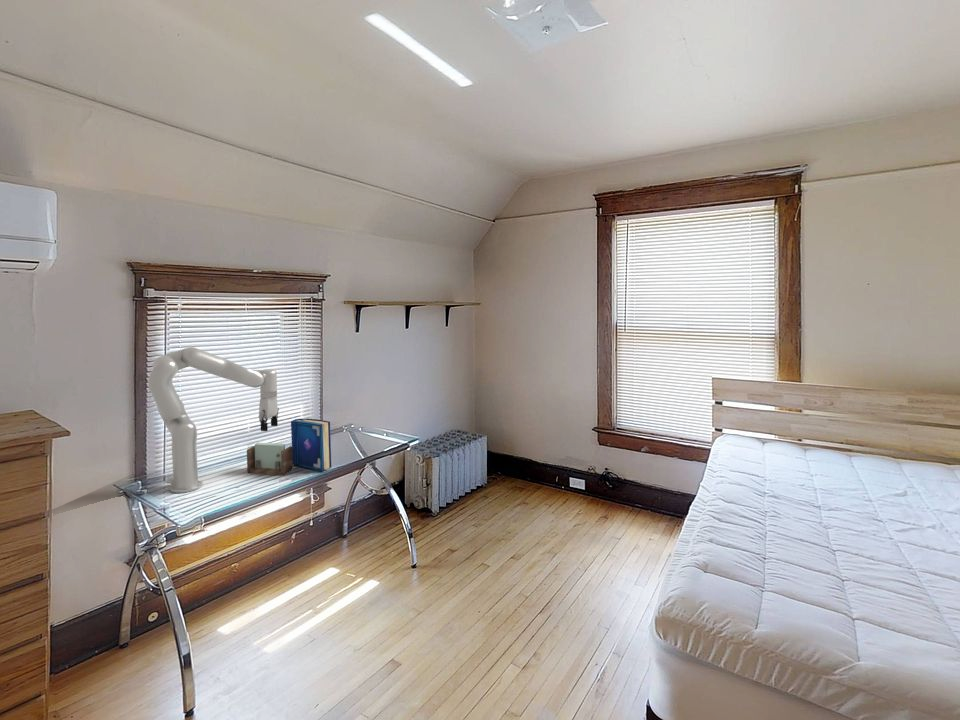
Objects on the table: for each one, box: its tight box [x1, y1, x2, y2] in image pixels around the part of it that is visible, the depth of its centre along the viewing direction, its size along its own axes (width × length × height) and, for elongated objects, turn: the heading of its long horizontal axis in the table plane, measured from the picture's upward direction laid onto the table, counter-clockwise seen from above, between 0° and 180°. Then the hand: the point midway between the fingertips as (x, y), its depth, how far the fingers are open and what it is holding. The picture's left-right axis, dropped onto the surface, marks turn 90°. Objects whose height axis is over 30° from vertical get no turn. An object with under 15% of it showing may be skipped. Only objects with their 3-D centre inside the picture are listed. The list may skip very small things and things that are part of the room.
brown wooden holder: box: [246, 445, 294, 476], centre depth 242 cm, size 19×9×12 cm, turn 86°
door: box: [254, 442, 286, 469], centre depth 241 cm, size 14×4×12 cm, turn 86°
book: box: [290, 418, 332, 472], centre depth 249 cm, size 22×7×25 cm, turn 67°
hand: (269, 428), depth 240 cm, fingers open, 9 cm apart
